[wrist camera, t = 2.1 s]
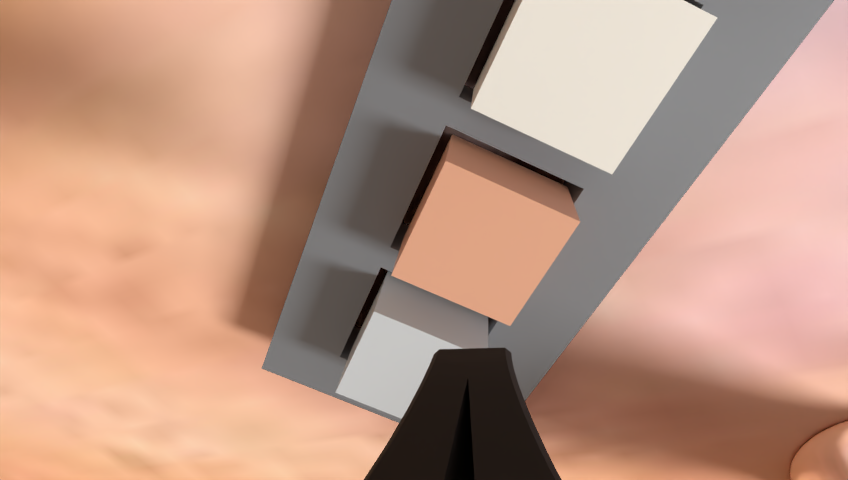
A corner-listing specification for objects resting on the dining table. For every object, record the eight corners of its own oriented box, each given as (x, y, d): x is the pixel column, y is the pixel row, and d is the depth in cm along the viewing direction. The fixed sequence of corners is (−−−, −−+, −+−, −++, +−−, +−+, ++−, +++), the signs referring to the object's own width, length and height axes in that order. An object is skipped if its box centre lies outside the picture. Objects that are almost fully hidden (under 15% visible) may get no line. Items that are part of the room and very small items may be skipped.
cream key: (679, 10, 13) (717, 18, 11) (593, 145, 15) (612, 174, 13) (542, -59, 13) (554, -67, 10) (473, 88, 14) (470, 108, 12)
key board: (815, -38, 13) (864, -40, 12) (483, 418, 23) (482, 455, 21) (480, -217, 12) (479, -249, 11) (279, 336, 22) (261, 368, 20)
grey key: (488, 312, 18) (487, 359, 16) (443, 383, 20) (438, 433, 18) (388, 269, 18) (374, 311, 16) (352, 346, 20) (335, 392, 17)
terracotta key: (567, 187, 15) (580, 221, 13) (507, 281, 17) (510, 326, 15) (451, 133, 15) (445, 160, 13) (403, 237, 17) (391, 275, 15)
